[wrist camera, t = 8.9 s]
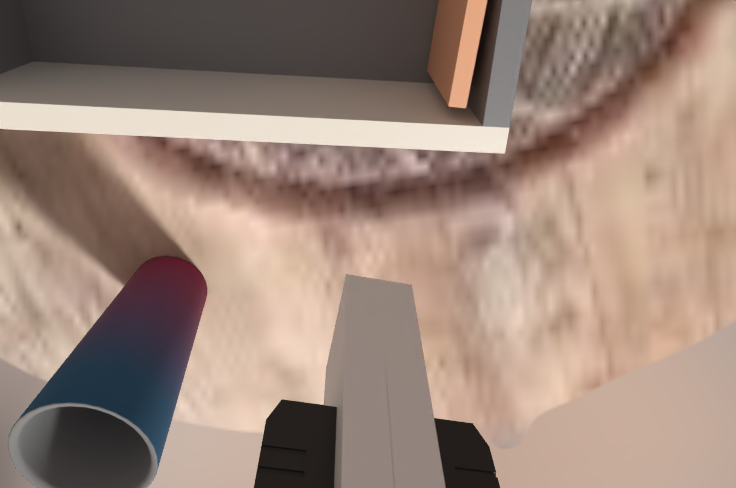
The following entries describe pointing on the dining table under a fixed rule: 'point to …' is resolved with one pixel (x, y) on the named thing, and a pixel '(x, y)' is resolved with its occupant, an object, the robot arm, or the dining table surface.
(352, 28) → the storage box
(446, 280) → the dining table surface
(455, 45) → the box door
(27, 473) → the cup
